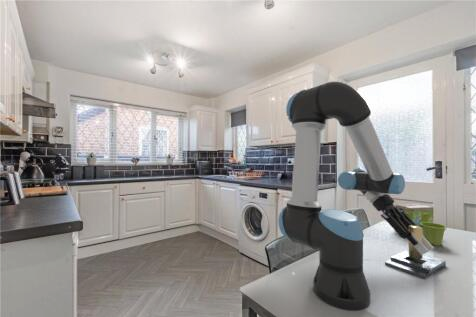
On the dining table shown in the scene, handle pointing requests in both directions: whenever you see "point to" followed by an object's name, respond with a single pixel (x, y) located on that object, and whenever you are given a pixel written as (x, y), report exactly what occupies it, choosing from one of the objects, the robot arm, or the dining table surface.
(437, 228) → the plant pot
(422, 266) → the grey slotted plate
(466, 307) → the dining table surface
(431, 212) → the tea box
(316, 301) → the dining table surface
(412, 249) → the brass pin
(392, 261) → the grey square-hole plate
